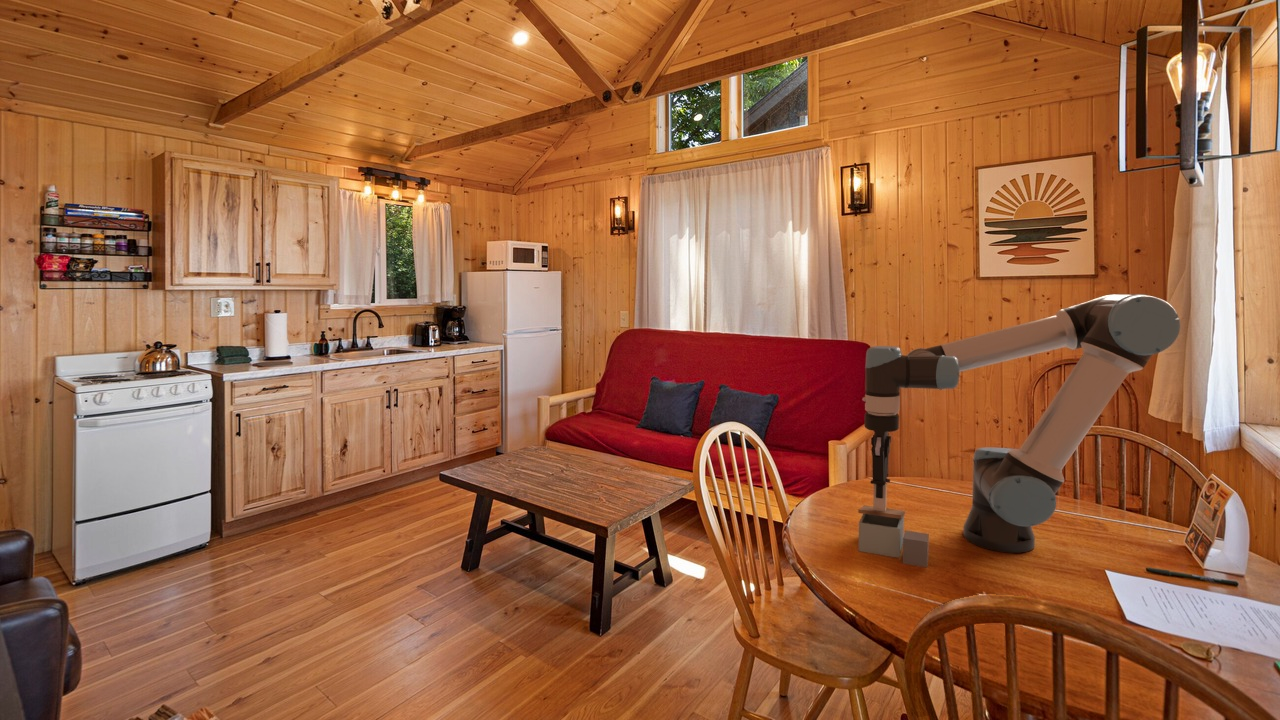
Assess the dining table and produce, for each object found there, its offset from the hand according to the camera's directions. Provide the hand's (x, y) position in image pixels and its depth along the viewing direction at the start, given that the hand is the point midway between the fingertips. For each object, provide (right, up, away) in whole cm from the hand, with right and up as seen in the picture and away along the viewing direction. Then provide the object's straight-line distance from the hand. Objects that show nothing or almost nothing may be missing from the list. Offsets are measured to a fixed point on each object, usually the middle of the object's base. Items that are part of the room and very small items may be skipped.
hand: (879, 509), depth 144 cm
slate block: (+6, -11, -5) cm, 13 cm away
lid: (+1, -1, +2) cm, 3 cm away
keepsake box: (+2, -10, +3) cm, 10 cm away
